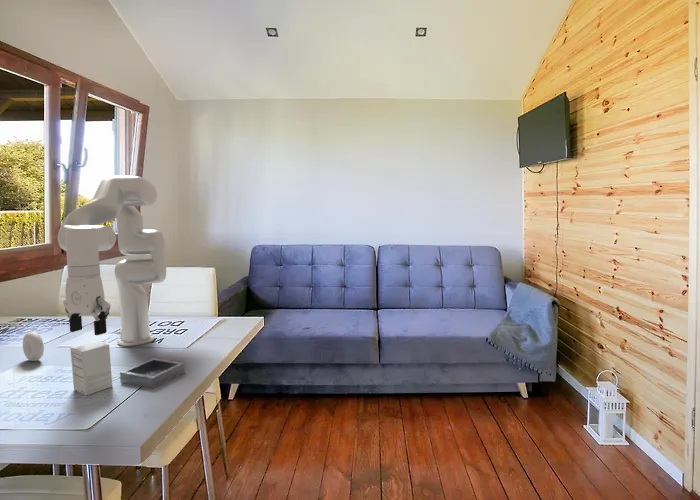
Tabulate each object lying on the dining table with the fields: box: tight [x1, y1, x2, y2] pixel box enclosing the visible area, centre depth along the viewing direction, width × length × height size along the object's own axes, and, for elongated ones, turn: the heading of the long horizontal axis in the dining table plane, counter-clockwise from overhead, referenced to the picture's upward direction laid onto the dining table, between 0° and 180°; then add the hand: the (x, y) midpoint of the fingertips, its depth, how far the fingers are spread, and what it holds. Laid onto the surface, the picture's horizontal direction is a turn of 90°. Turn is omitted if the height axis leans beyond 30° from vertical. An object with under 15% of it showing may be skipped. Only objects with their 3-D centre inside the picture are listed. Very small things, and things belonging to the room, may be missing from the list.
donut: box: [22, 331, 45, 362], centre depth 142 cm, size 10×4×10 cm, turn 57°
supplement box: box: [69, 339, 113, 396], centre depth 120 cm, size 7×7×13 cm
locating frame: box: [119, 358, 186, 389], centre depth 128 cm, size 12×12×3 cm
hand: (88, 332), depth 119 cm, fingers open, 9 cm apart
